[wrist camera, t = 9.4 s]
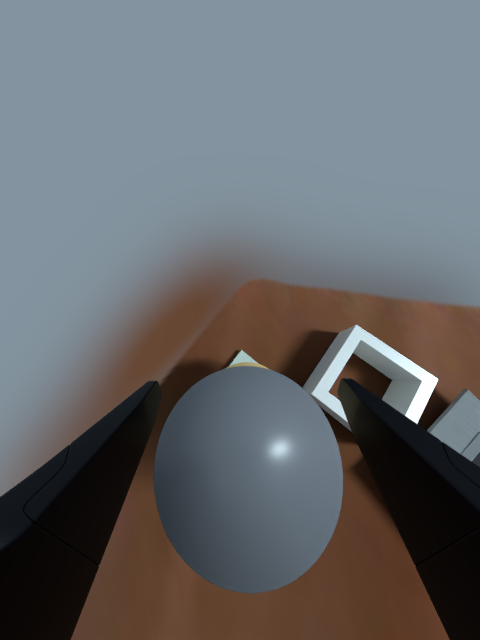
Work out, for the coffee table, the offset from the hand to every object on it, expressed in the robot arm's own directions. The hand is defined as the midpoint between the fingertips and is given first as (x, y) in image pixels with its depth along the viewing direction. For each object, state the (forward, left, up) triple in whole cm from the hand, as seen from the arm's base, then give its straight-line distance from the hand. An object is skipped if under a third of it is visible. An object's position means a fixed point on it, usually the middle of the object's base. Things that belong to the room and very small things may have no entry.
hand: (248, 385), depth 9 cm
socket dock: (+6, -8, -9) cm, 13 cm away
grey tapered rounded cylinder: (-1, -1, -8) cm, 8 cm away
